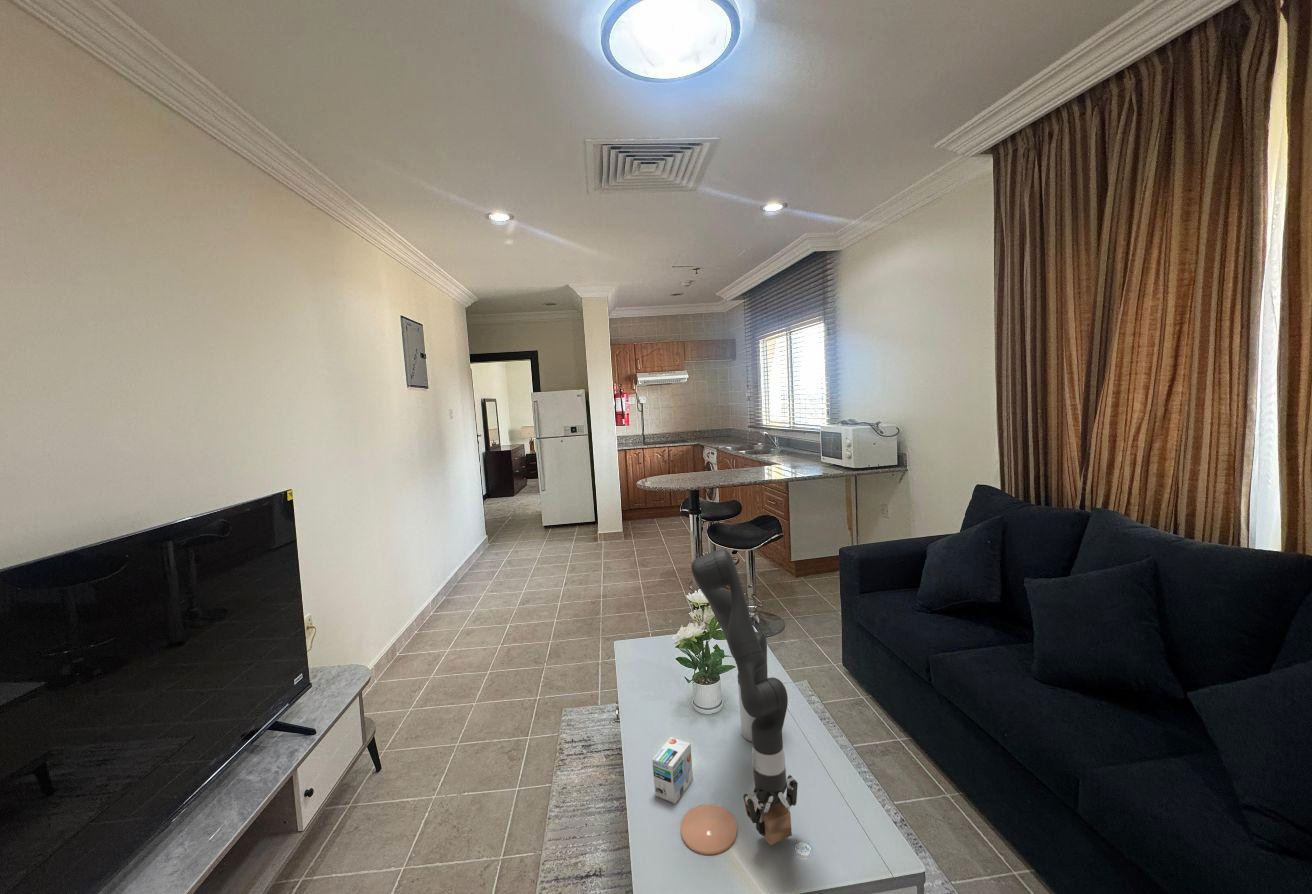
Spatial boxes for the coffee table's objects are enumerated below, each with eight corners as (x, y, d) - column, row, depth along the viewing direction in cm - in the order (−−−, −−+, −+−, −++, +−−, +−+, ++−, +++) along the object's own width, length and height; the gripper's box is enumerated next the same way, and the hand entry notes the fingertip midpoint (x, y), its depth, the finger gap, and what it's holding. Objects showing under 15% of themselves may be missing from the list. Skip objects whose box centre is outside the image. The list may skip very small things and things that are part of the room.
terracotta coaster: (720, 800, 138) (720, 797, 138) (747, 841, 125) (747, 837, 125) (672, 819, 133) (671, 816, 133) (695, 863, 120) (695, 859, 120)
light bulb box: (675, 804, 138) (672, 767, 137) (654, 796, 142) (651, 759, 141) (694, 778, 147) (691, 742, 146) (673, 770, 151) (670, 736, 150)
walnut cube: (776, 816, 128) (775, 794, 127) (791, 835, 122) (790, 812, 122) (756, 826, 126) (754, 803, 125) (770, 845, 120) (768, 821, 120)
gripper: (784, 743, 128) (788, 805, 130) (734, 762, 123) (739, 827, 125) (804, 762, 121) (808, 827, 123) (751, 784, 116) (756, 852, 118)
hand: (773, 827), depth 124 cm, fingers closed on walnut cube, 6 cm apart
